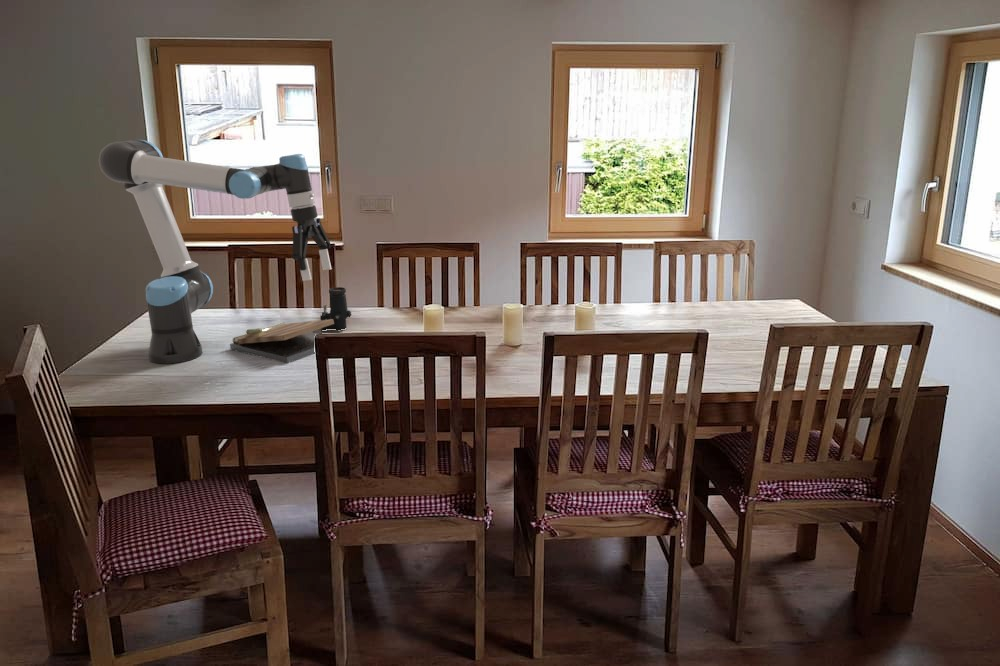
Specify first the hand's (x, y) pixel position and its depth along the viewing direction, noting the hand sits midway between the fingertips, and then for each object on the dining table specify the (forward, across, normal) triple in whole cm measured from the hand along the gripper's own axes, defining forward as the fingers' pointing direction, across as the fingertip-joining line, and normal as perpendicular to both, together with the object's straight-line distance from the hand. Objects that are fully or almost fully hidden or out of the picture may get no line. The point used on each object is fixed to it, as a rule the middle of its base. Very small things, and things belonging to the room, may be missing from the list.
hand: (317, 274), depth 246 cm
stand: (+20, -6, +12) cm, 25 cm away
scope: (+22, +14, +5) cm, 27 cm away
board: (+16, -7, +11) cm, 21 cm away
